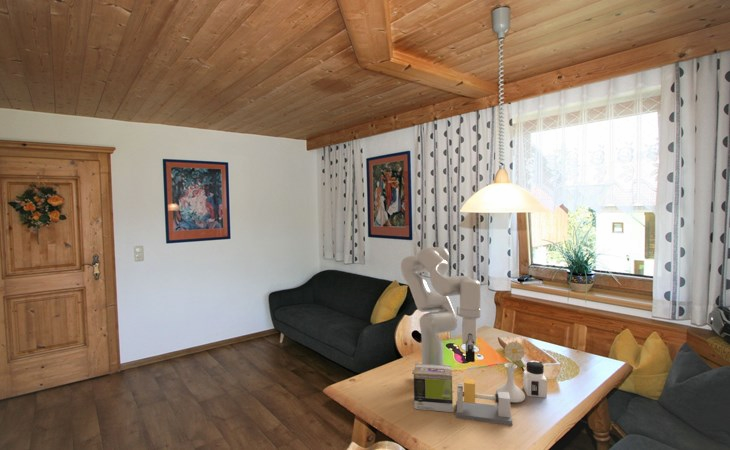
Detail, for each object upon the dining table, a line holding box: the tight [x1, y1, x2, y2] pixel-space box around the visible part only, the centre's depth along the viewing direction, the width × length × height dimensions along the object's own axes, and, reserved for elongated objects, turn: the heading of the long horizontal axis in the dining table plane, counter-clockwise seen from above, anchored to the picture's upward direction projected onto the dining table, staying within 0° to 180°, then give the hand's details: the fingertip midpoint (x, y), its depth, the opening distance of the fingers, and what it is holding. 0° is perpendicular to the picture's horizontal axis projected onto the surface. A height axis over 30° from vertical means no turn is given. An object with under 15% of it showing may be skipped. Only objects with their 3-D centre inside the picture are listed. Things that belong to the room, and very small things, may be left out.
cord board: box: [455, 382, 513, 426], centre depth 143 cm, size 20×10×10 cm, turn 75°
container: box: [522, 360, 548, 399], centre depth 159 cm, size 8×8×13 cm
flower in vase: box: [495, 340, 526, 403], centre depth 154 cm, size 13×11×25 cm
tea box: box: [413, 363, 454, 413], centre depth 150 cm, size 15×10×15 cm, turn 78°
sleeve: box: [463, 377, 476, 404], centre depth 144 cm, size 4×4×8 cm
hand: (469, 356), depth 144 cm, fingers open, 9 cm apart
